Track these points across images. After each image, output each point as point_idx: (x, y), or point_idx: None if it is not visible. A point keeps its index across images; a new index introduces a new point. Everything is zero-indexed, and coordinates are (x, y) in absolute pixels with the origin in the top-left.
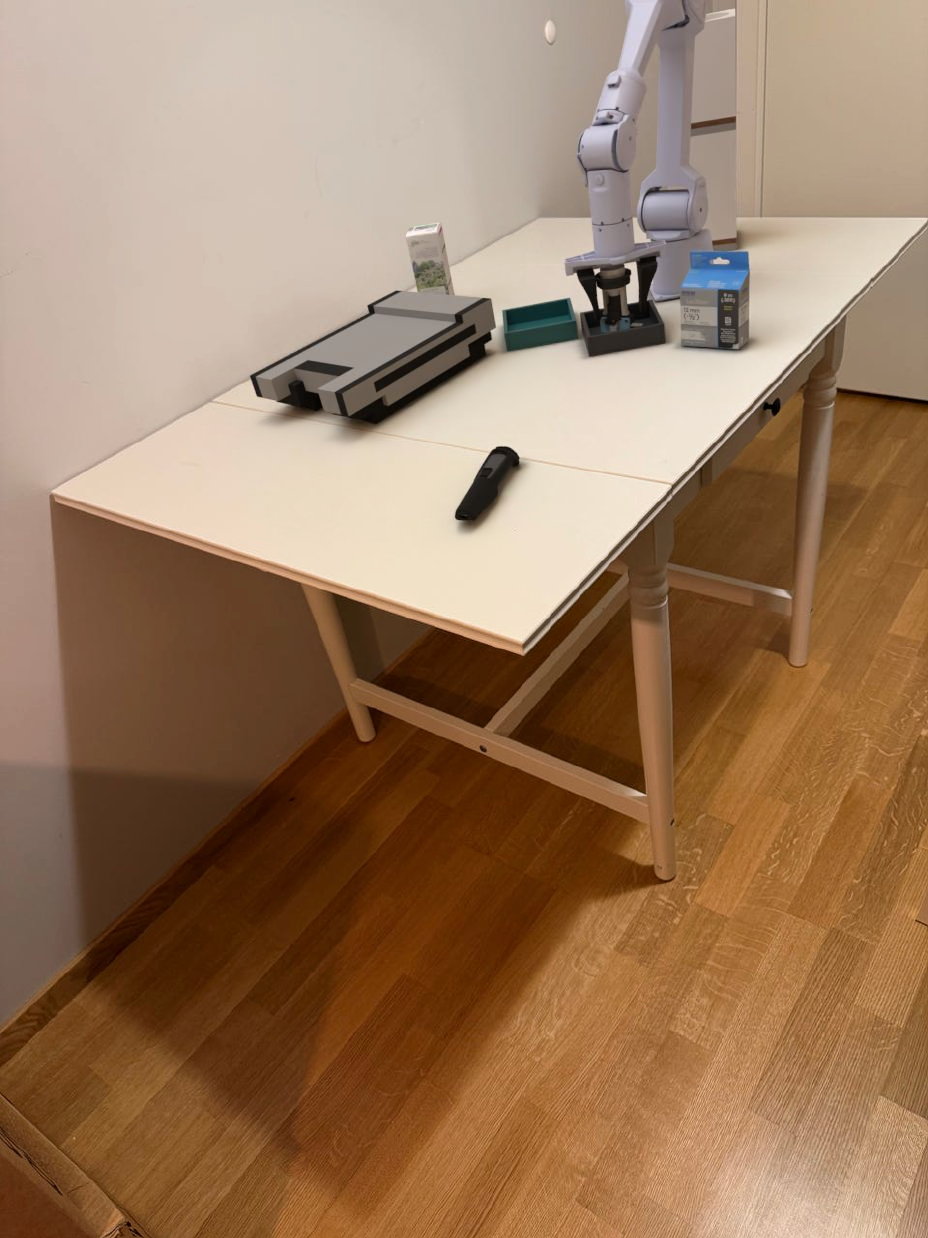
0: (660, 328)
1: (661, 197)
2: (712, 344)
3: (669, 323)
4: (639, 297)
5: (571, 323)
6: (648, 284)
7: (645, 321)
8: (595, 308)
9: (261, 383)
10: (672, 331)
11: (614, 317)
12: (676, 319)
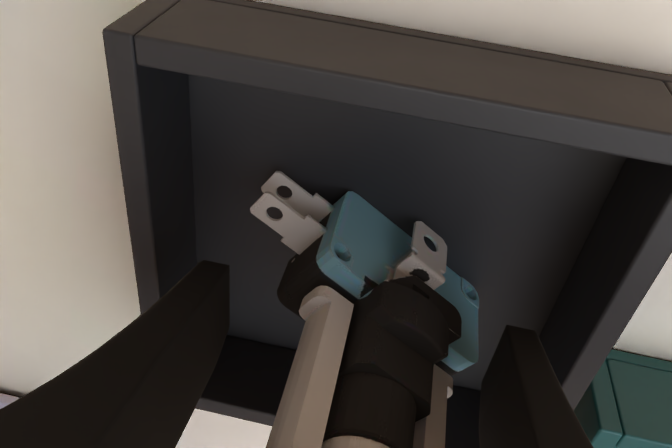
0: (148, 26)
1: None
2: None
3: (124, 232)
4: (198, 371)
5: (630, 424)
6: (67, 385)
7: None
8: (553, 397)
9: None
10: (115, 133)
11: (410, 301)
12: (90, 252)
